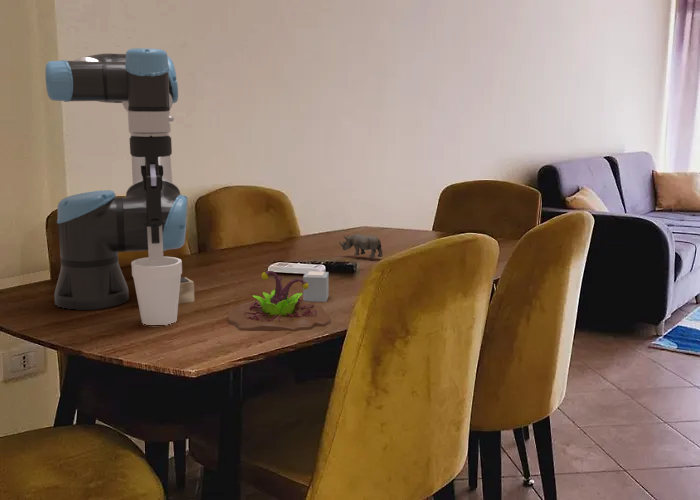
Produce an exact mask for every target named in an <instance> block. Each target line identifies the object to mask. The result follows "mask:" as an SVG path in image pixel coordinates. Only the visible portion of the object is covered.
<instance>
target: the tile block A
mask: <svg viewBox="0 0 700 500" xmlns="http://www.w3.org/2000/svg"><path fill="white" fill-rule="evenodd" d="M194 302H195V282H194V281H193V280H191V279H189V278H188V277H186V276H181V280H180V291H179V301H178V305H181V304H186V303H187V304H189V303H194Z"/></svg>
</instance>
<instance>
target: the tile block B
mask: <svg viewBox="0 0 700 500" xmlns="http://www.w3.org/2000/svg"><path fill="white" fill-rule="evenodd" d="M329 275H330V273H329V271H311V270H309V271H305V273H304V274H303V277H302V280H303V281H305V282H307V283H308V285H309V287H308V289H307V290H306V289H304V288H303V287H302V289H303V290H302V297H303V298H302V300H303V301H307V302H312V303H315V302H317V303H318V302H319V303H321V302H324V303H326V302H327V301H328V298H329V285H330V284H329V282H330V281H329V278H330V277H329Z"/></svg>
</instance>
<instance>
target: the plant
mask: <svg viewBox="0 0 700 500" xmlns="http://www.w3.org/2000/svg"><path fill="white" fill-rule="evenodd" d="M270 275H272V276H273V277H274V279H275V288H274V289H273V290H272V291H271V292H270V293H267V292H264V291H263V292H262V295H263V297H264V298H263V297H261V296H259V295H254V294H253V295H252V297H253V298H254V299H255V300H253V301H248V302H246V303H241V304H239V305H237V306H236V307H234V308H233V309H231V310H230V312H229V313H228V324H230V325H232V326H235V327H236V328H238V330H239V331H244V332H259V331H260V332H261V331H263V332H264V331H265V332H274V331H276V332H277V331H289V332H296V331H306V330H307V331H308V330H312V329H314V328H315V327H326V326H329V325H330V324H331V322H332V321H331V317H330V316H329V314H327V312H326V311H325V310H324V308H323V307H322V305H319V304H316V303H315V302H312V301H303V299H300V297H302V296H303V291H302V292H298V293H294V294H293V295H292V296H290V297H289V291H290V289H291V288H292V286H293V284H295V283H299V282H300V283H301V284H302V286H301V287H302V289H303V288H304V289H306V290H307V289H308V287H309V285H308V283H307V282H305V281H303V279H301V278H296V279H292V280H290V281H289V282H288V283H287V284H286V285H285V286H284V287H283V278H282V277H281V276H278V274H277V273H276V272H275V271H273V270H266V271H263V272H262V273H261V275H260V276H261V278H262V280H264V281H266V280H267V279H269V277H270Z"/></svg>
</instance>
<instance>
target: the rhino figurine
mask: <svg viewBox="0 0 700 500" xmlns="http://www.w3.org/2000/svg"><path fill="white" fill-rule="evenodd" d="M343 237H344V239H345V241H344V240H342V242H343V243H342V242H340V241H338V243H339V245H340V246H341V247H342V250H343V251H347V250H349V249H352V248H354V249H355V253H354V254H353V256H355V257H357V256H360V255H365V254H366V252H365V251H368V250H370V251H371V253H370V254H369V256H368V257H369V258H373V259H374V258H376V255H375V254H377V251H378V254H377V258H383V257H384V256H383V248H382V242H381V239H380V238H379V237H378V236H376V235H373V234H372V235H371V234H369V235H362V234H361V233H354V234H352V235H347V236H344V235H343Z"/></svg>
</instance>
